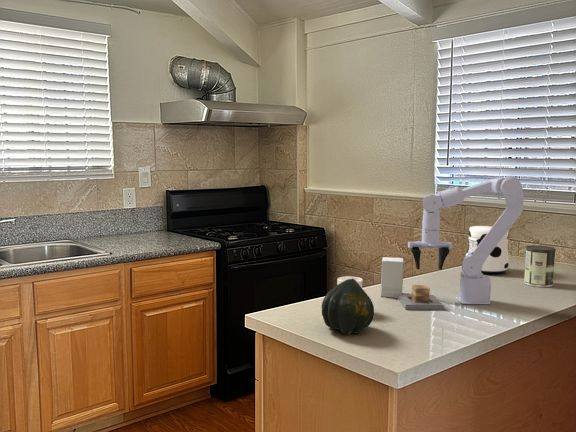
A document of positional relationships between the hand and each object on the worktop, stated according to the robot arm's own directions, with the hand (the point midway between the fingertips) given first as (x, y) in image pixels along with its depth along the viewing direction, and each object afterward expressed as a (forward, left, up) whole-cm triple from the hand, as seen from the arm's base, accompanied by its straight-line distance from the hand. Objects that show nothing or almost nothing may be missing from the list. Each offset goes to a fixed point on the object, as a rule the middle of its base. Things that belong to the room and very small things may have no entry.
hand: (428, 268), depth 195 cm
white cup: (+29, +16, -10) cm, 35 cm away
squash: (+32, +35, -10) cm, 49 cm away
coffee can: (-47, -20, -10) cm, 52 cm away
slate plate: (+5, +9, -10) cm, 14 cm away
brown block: (+5, +9, -9) cm, 14 cm away
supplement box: (+12, -3, -10) cm, 16 cm away
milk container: (-35, -41, -10) cm, 55 cm away
